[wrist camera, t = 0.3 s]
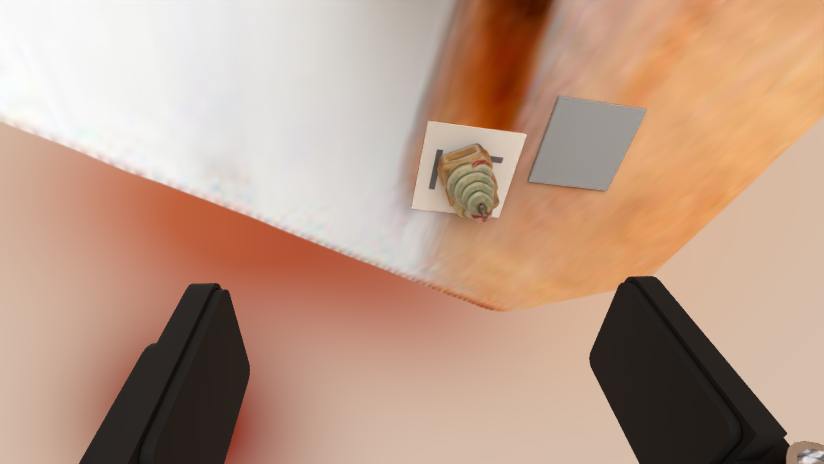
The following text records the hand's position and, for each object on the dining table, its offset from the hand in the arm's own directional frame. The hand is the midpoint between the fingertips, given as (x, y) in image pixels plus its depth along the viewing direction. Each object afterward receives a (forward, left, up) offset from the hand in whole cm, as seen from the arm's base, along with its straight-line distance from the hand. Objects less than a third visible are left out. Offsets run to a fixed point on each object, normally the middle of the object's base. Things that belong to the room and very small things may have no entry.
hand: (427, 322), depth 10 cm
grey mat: (+8, +23, -36) cm, 43 cm away
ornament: (+13, +10, -36) cm, 39 cm away
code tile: (+13, +10, -36) cm, 39 cm away
